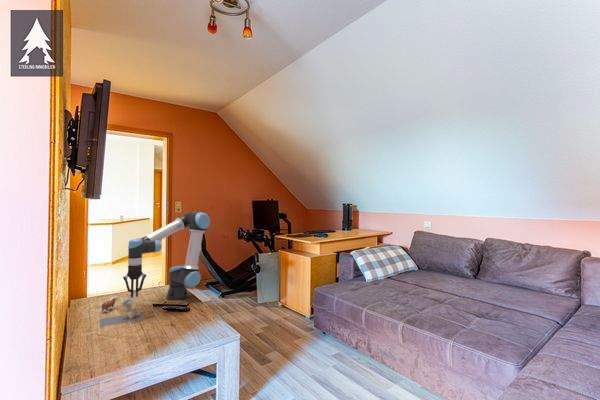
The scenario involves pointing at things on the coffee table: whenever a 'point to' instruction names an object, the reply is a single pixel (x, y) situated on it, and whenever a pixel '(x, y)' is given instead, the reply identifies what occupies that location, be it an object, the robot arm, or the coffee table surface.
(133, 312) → the beech block
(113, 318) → the felt mat
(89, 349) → the coffee table surface
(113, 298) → the bull figurine
